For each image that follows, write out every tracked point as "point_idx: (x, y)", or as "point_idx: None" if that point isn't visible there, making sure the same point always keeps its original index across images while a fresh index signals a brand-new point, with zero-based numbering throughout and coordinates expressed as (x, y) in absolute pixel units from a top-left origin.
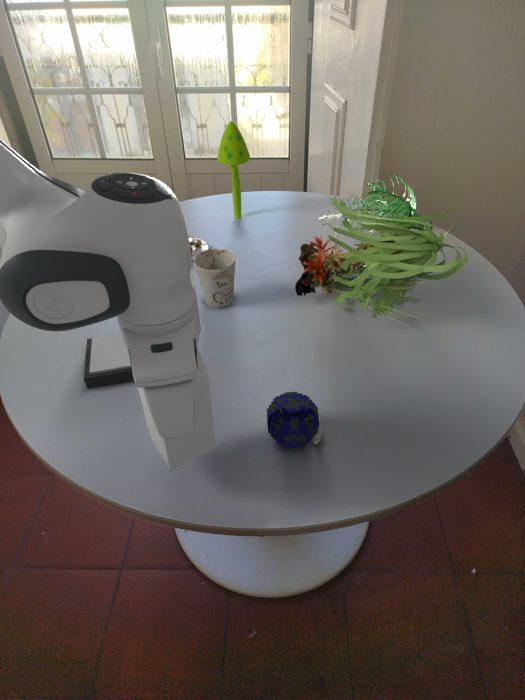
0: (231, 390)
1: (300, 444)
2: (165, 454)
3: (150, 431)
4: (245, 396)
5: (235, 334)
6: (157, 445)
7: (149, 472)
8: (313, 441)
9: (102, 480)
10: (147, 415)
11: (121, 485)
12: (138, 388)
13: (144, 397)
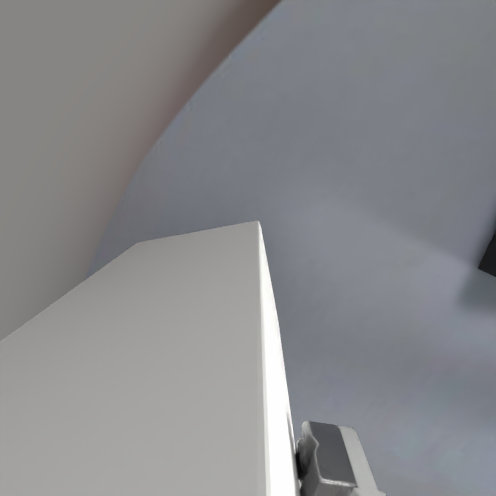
0: (349, 373)
1: None
2: (124, 258)
3: (236, 234)
4: (322, 388)
5: (489, 425)
6: (197, 236)
7: (227, 183)
8: None
9: (247, 76)
10: (209, 271)
11: (218, 118)
12: (241, 360)
13: (124, 382)
